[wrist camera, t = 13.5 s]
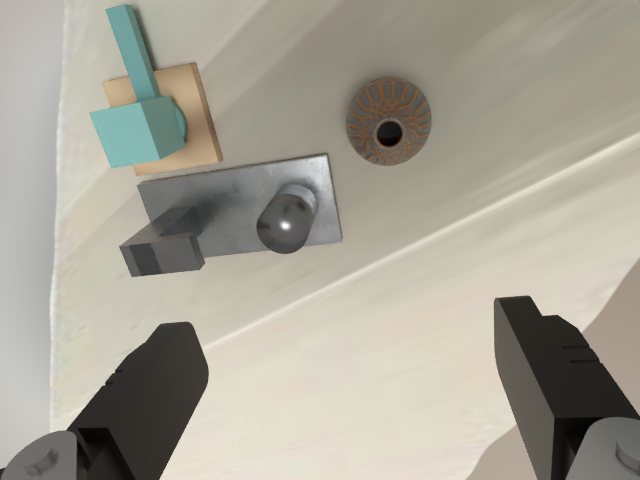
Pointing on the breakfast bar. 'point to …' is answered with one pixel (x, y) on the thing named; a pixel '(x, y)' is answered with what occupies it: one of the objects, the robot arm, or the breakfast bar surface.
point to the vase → (388, 121)
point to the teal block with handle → (138, 105)
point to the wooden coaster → (192, 101)
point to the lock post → (234, 214)
